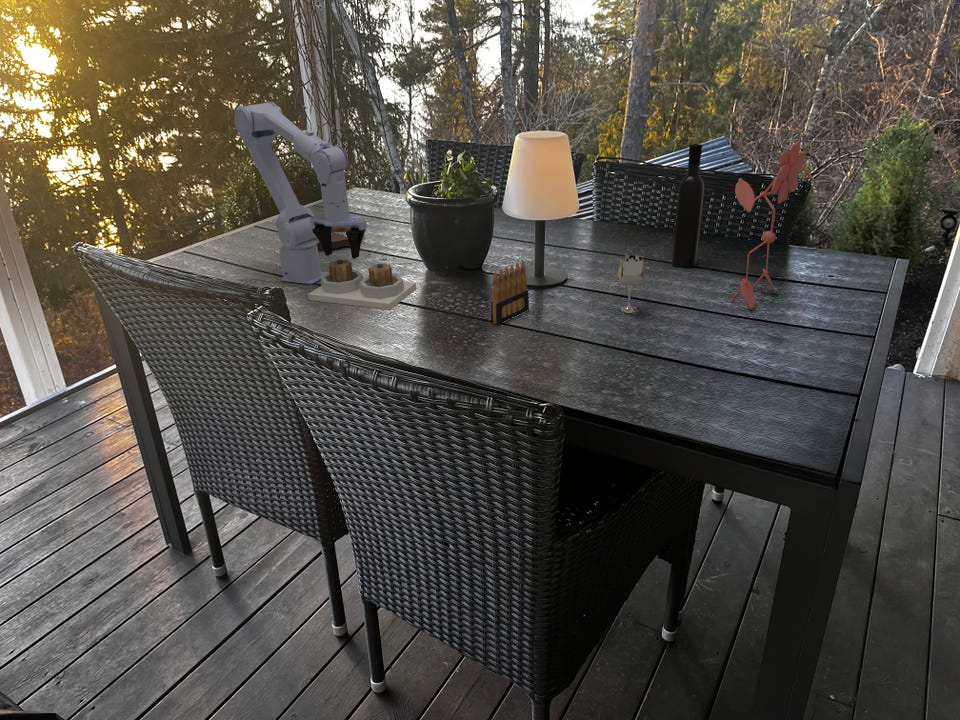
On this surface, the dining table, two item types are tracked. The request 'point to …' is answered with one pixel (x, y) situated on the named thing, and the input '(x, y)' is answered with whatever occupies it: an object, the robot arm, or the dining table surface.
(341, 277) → the loose gear
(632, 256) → the wineglass
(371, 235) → the dining table surface
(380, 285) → the seated gear
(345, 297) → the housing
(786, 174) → the figurine
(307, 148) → the robot arm
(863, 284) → the dining table surface
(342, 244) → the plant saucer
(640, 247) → the dining table surface
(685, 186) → the wine bottle
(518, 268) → the ammunition clip
